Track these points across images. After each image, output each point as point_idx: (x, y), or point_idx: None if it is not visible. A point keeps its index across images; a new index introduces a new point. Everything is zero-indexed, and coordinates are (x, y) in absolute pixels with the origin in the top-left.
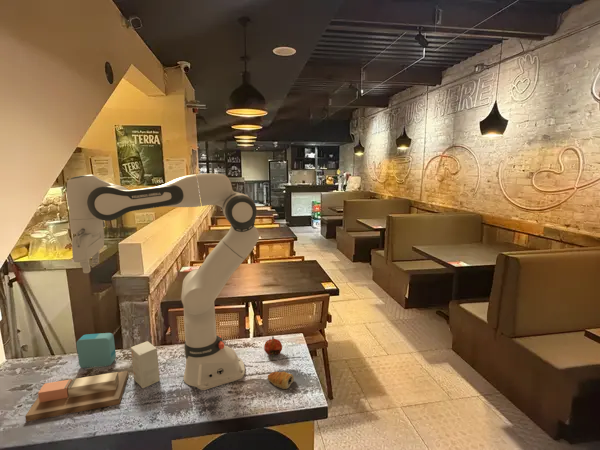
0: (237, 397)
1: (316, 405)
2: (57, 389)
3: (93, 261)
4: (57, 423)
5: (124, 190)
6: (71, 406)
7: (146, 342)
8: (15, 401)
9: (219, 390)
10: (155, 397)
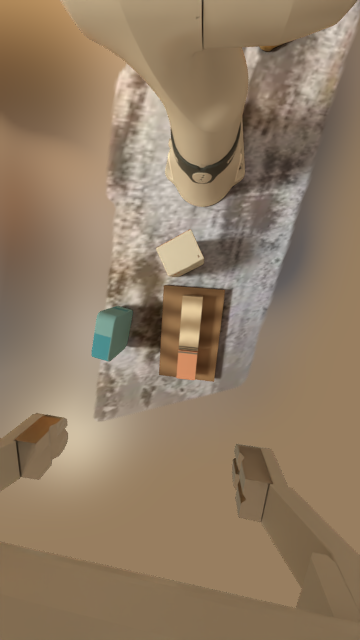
0: (283, 120)
1: None
2: (196, 361)
3: (49, 456)
4: (230, 349)
5: None
6: (216, 340)
7: (161, 249)
8: (172, 396)
9: (253, 149)
10: (229, 246)
